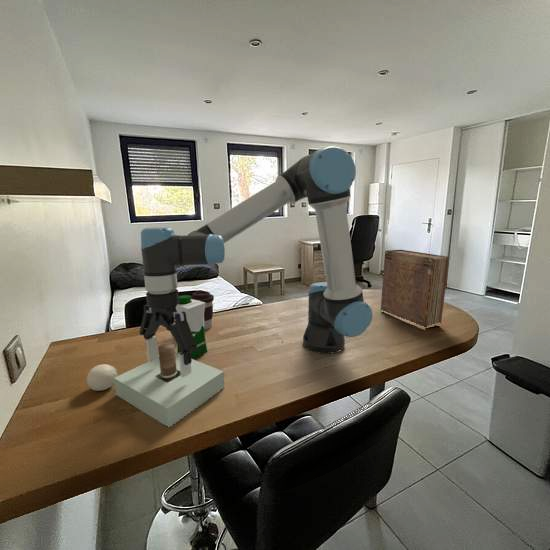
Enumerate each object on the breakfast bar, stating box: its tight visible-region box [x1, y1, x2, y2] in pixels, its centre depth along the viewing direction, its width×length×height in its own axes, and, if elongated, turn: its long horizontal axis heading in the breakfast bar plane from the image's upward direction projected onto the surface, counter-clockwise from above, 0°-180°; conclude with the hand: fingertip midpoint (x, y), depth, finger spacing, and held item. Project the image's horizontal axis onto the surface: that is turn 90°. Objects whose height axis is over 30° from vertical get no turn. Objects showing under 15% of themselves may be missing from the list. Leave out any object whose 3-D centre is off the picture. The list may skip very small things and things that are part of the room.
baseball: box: [86, 363, 119, 392], centre depth 79 cm, size 7×7×7 cm
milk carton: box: [176, 294, 208, 360], centre depth 97 cm, size 9×9×20 cm
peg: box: [157, 342, 177, 383], centre depth 77 cm, size 4×4×13 cm
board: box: [113, 351, 225, 428], centre depth 78 cm, size 22×18×5 cm
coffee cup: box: [190, 290, 215, 331], centre depth 120 cm, size 10×10×15 cm
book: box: [380, 249, 450, 327], centre depth 127 cm, size 25×9×30 cm, turn 23°
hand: (169, 367), depth 77 cm, fingers open, 13 cm apart
